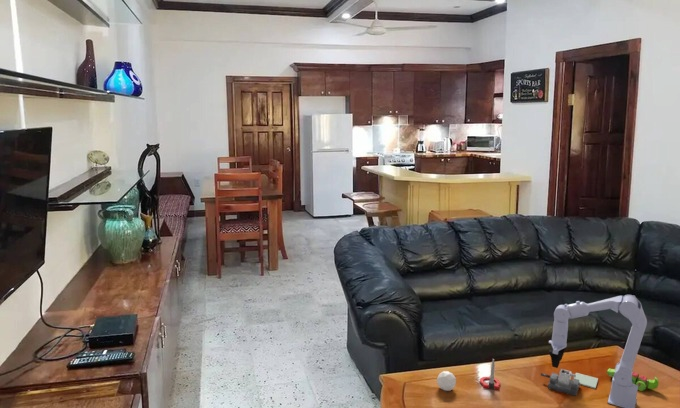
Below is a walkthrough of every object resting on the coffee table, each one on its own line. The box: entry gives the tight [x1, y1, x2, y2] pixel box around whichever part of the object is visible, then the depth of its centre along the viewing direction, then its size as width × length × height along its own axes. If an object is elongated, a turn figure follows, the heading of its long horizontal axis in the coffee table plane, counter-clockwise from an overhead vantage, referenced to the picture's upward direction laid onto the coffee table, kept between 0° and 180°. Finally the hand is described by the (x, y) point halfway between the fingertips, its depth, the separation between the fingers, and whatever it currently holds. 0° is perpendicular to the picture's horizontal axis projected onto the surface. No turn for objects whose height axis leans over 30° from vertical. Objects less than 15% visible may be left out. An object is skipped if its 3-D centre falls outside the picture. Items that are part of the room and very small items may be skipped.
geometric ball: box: [436, 370, 457, 392], centre depth 217 cm, size 8×8×8 cm
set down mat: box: [573, 372, 599, 390], centre depth 227 cm, size 9×9×1 cm
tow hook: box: [479, 358, 501, 390], centre depth 222 cm, size 8×13×9 cm
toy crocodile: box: [606, 368, 659, 392], centre depth 225 cm, size 20×7×6 cm, turn 47°
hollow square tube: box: [558, 368, 576, 387], centre depth 220 cm, size 6×4×5 cm
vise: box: [540, 372, 581, 397], centre depth 222 cm, size 15×9×6 cm, turn 58°
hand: (556, 363), depth 222 cm, fingers open, 7 cm apart
